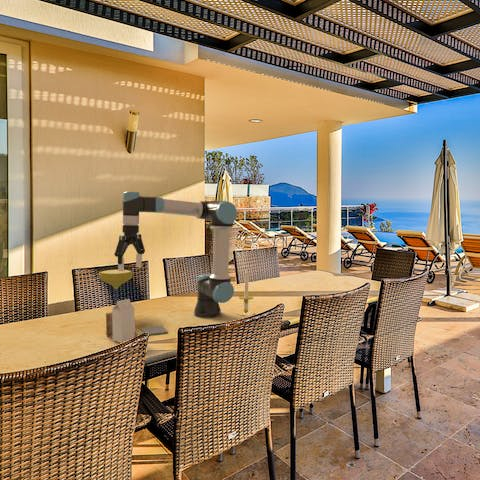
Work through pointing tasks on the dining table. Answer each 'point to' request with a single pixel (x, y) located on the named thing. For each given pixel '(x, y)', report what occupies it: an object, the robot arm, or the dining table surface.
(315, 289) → the dining table surface
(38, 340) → the dining table surface
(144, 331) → the coaster
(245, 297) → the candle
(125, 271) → the cocktail glass
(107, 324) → the brown upright block
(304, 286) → the dining table surface
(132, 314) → the milk carton
